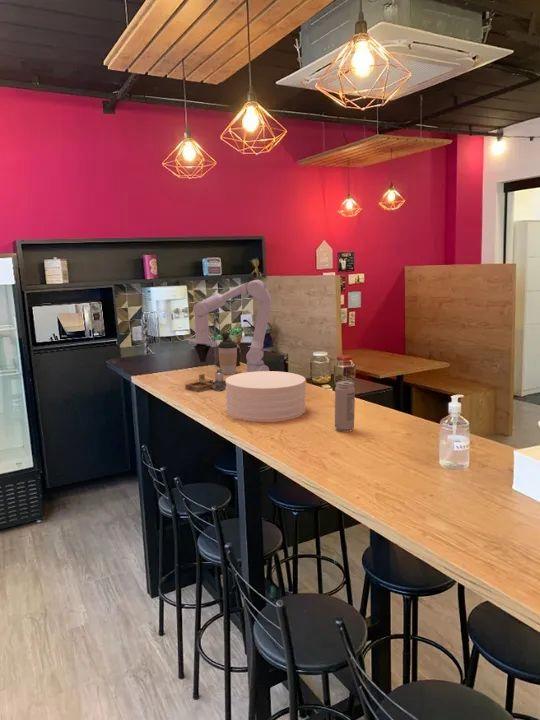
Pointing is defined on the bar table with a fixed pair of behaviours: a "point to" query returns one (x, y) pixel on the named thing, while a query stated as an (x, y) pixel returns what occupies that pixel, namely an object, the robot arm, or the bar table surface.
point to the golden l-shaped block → (202, 379)
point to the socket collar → (219, 387)
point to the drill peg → (218, 378)
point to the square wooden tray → (198, 386)
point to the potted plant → (216, 351)
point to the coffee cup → (227, 357)
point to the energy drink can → (344, 406)
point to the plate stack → (265, 396)
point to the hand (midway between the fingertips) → (202, 361)
